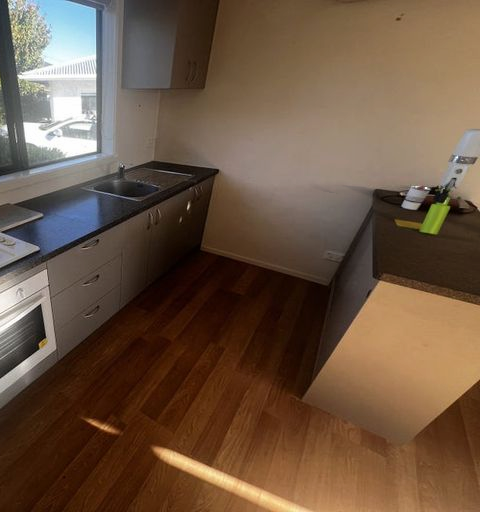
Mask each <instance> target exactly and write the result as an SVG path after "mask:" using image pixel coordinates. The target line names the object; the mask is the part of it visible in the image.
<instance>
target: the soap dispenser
mask: <svg viewBox="0 0 480 512" xmlns="http://www.w3.org/2000/svg"><path fill="white" fill-rule="evenodd" d="M434 190H435V192H437V191H441V190H438V189H434ZM453 192H454V190H451V192H450V193H449V195H448V197H447V199H446V200H445V202H444V203H438V202H435V203H432V204H431V205H430V207H429V209H428V212H427V213H426V216H425V217H424V219H423V223H421V224H422V226H421V228H420V229H418V230H419V231H418V232H420V233H423V234H424V233H425V234H431V235H438V234H439V232H440V229H441V227H442V226H443V223H444V221H445V220H446V217H447V215H448V213H449V211H450V209H451V207H452V206H450V205H449V203H450V200H451V197H449V196H450V194H451V193H453Z"/></svg>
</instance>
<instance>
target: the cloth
mask: <svg viewBox="0 0 480 512" xmlns="http://www.w3.org/2000/svg"><path fill="white" fill-rule="evenodd" d="M394 221H395V224H396V226H399V227H404V228H410V229H414V230H420V228H421V226H422V224H423V223H421V222H415V221H407V220H402V219H394Z"/></svg>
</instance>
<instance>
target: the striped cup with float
mask: <svg viewBox="0 0 480 512" xmlns="http://www.w3.org/2000/svg"><path fill="white" fill-rule="evenodd" d="M430 191H432V188H430V187H427V186H421V185H410V188H409V190H408V192H407V194H406V195H405V197H404V200H403V201H402V204H401V205H400V206H401V207H402V208H403V209H407V210H414V211H417V210H418V209H419V208H420V207H421V205H422V203H423V202H424V200H425V199H426V197H427V196H428V194H429V193H430Z"/></svg>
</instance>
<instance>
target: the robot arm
mask: <svg viewBox="0 0 480 512" xmlns="http://www.w3.org/2000/svg"><path fill="white" fill-rule="evenodd" d="M479 157H480V128H470V129H468V130H467V129H466V131H465V132H464V133H463V134H462V137H461V138H460V140H459V142H458V143H457V145H456V147H455V149H454V151H453V152H452V154H451V156H450V157H449V159H448V161H447V164H449V165H448V167H447V169H446V170H445V172H444V174H443V176H442V177H441V180H440V182H439V184H440V186H439V188H438V189H437V190H441V191H435V192H436V193H435V194H434V196H433V197H432V200H433V202H434V203H437V202H438V203H444V202H445V200H446V199H447V197H449V196H450V194H451V193H452V192H451V191H453V188H454V189H456V190H457V189H459V187H460V186H461V184H462V182H463V180H464V179H465V177H466V175H467V173H468V171H469V169H470V167H471V166H474V165H475V163H476V162H477V160H478V158H479ZM449 193H450V194H449ZM448 195H449V196H448Z"/></svg>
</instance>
